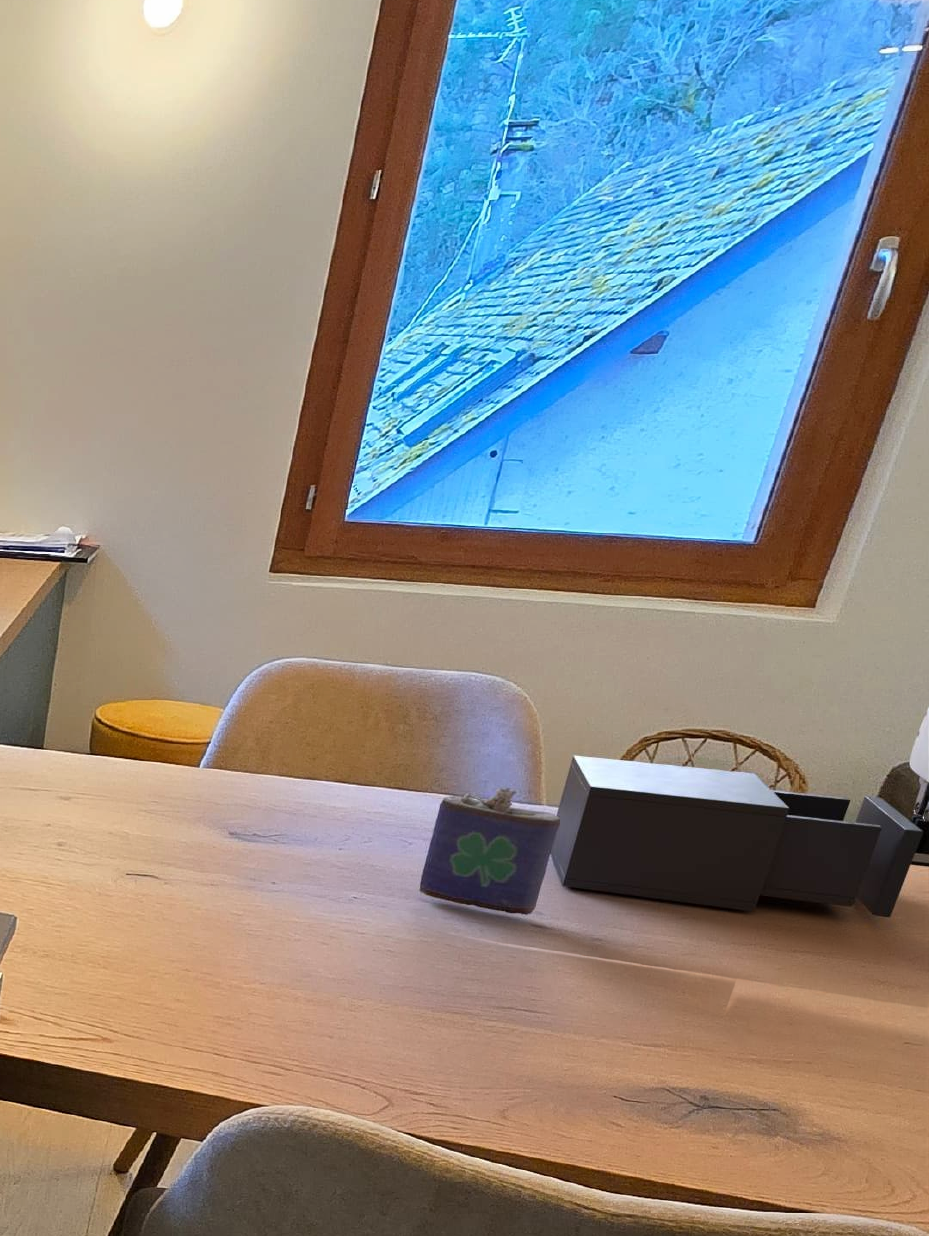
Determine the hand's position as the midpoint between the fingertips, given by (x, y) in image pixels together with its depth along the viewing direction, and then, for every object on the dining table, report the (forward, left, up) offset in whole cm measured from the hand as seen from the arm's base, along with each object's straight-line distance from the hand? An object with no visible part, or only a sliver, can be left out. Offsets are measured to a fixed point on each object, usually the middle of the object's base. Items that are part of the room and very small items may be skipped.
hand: (922, 863), depth 120 cm
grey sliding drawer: (+6, 0, -4) cm, 7 cm away
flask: (+34, +15, -5) cm, 38 cm away
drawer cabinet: (+19, 0, -5) cm, 20 cm away
